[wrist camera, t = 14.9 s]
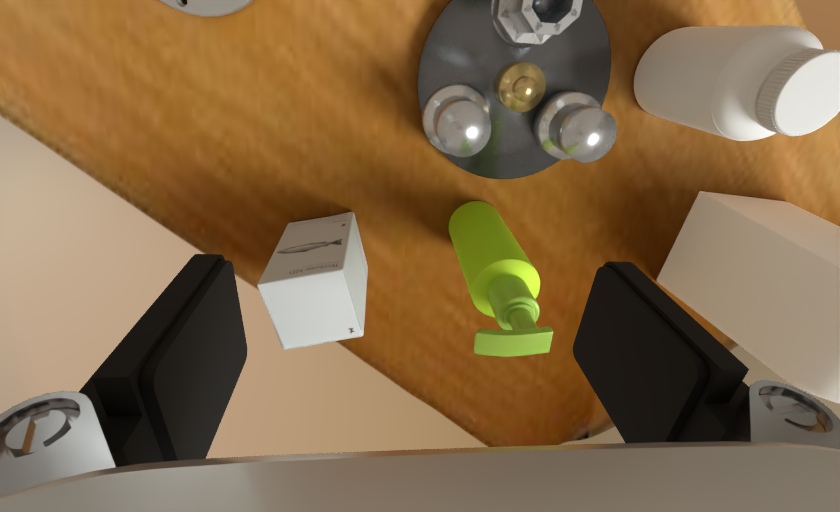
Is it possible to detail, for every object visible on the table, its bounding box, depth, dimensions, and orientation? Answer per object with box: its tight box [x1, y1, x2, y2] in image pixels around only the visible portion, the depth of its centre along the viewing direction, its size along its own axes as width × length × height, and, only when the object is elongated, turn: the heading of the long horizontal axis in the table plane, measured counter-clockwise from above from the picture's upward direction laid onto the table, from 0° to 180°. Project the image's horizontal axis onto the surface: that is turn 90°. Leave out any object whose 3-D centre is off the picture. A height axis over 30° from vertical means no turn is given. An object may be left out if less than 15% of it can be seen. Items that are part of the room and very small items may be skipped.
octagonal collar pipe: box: [492, 0, 583, 44], centre depth 32 cm, size 6×6×6 cm
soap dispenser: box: [449, 201, 553, 356], centre depth 37 cm, size 6×7×20 cm
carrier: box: [417, 0, 617, 179], centre depth 36 cm, size 18×18×7 cm
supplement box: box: [257, 212, 368, 350], centre depth 40 cm, size 7×7×13 cm
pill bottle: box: [634, 25, 840, 141], centre depth 33 cm, size 8×8×15 cm
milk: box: [656, 191, 840, 404], centre depth 38 cm, size 12×12×26 cm
